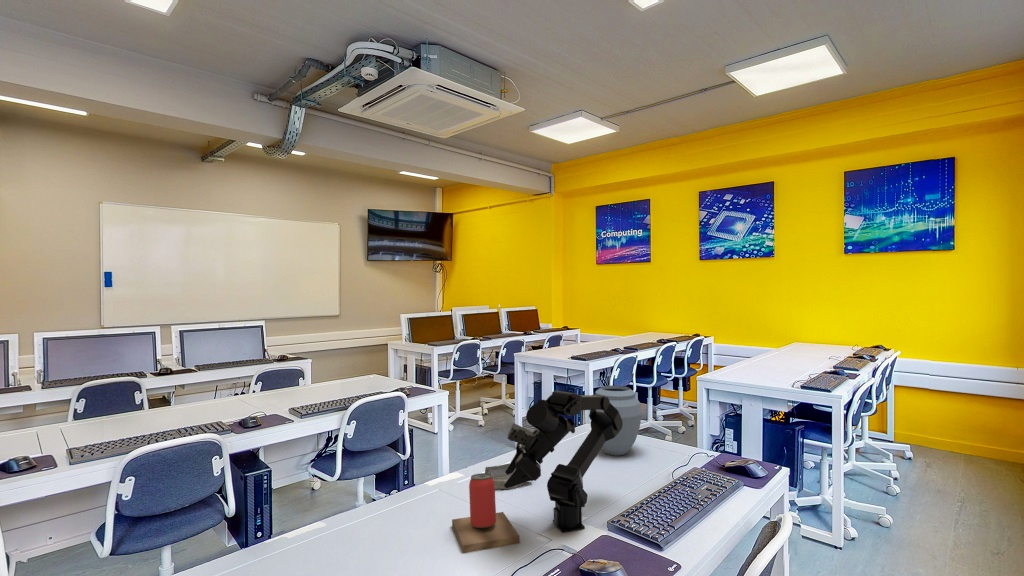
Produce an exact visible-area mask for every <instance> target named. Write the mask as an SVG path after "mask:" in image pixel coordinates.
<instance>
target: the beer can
mask: <svg viewBox="0 0 1024 576" xmlns="http://www.w3.org/2000/svg"><path fill="white" fill-rule="evenodd" d="M468 484H469V485H468V491H469V493H468V494H469V517H470V523H471V525H472V526H473V527H476V528H488V527H491V526H493V525H494V524H495V523H496V513H497V509H496V508H497V507H496V505H497V504H496V489H495V484H494V480H493V478H492V474H488V473H485V472H483V473H482V472H481V473H474V474H472V475H471V476H470V481H469V483H468Z"/></svg>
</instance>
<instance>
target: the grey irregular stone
mask: <svg viewBox="0 0 1024 576" xmlns="http://www.w3.org/2000/svg"><path fill="white" fill-rule="evenodd" d="M509 464H510V463H505V464H499V465H493V466H486V467H485V468H484V473H488V474H492V478H493V480H494V484H495V490H499V489H500V490H501V489H502V490H510V489H515V488H518V487H521V486H524V484H525V483H521V484H518V485H516V486H513V487H510V488H505V487H504V484H505V483H506V481H507V480H508V478H509V477H510V475H511V474H512V473H511V474H509V475H507V474H506V473H505V471H506V469H507V468H508V466H509Z"/></svg>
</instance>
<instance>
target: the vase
mask: <svg viewBox="0 0 1024 576" xmlns="http://www.w3.org/2000/svg"><path fill="white" fill-rule="evenodd" d="M595 395H602V396H606V397H608V399H609V401H610V403H611V404H612V405H613V406H614V407H615V408H616V409H617V410H618V411H619V414H620V416H621V419H622V422H623V425H622V429H621V430H620V432H619V433H618V434H617V435H616V437H615V438H613V439H611V440H608V441H606V442H605V443H604V445H603V446H602V448H601V449H602V450H603V452H605V454H608V455H610V454H612V455H611V456H616V455H619V456H624V455H626V454H628V452H629V451H631V449H632V447H633V446H634V444H635V442H636V440H637V437H638V434H639V431H640V428H641V423H642V422H641V421H642V415H643V412H642V407H641V402H640V401H639V399H638V398H637V397H636V392H635V391H634V390H632V389H631V387H628V386H624V385H604V386H601V387H599V388H598V389H597V390H596V391H595ZM588 411H589V412H590V410H588ZM596 411H600V412H604V410H600V409H598V410H596Z"/></svg>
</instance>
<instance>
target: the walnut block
mask: <svg viewBox="0 0 1024 576" xmlns="http://www.w3.org/2000/svg"><path fill="white" fill-rule="evenodd" d="M451 527H452V530H453V532H454V534H455V536H456V538H457V539H456V540H457V541H458V543H459V546H460V548H461V551H462V553H463V554H466V553H472V552H478V551H483V550H490V549H495V548H501V547H507V546H513V545H517V544H521V543H520V542H521V541H520V540H521V539H520V538H521V537H520V535H519V533H518V531H517V530H516V528H515V527H514V526H513V524H512V523H511V521H510V520H509V519H508V517H507V515H506V514H505V513H504V511H499V512H496V523H495V524H494V525H493V526H491V527H488V528H476V527H473V526H472V525H471V523H470V516H467V517H461V518H453V519H451Z"/></svg>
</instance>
